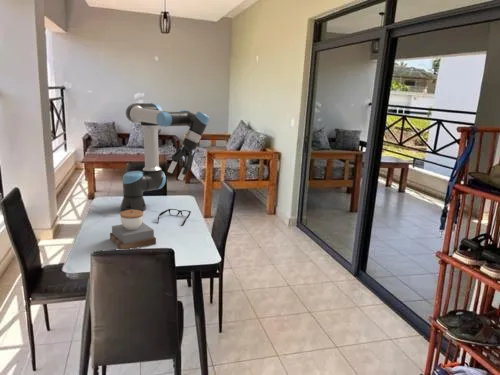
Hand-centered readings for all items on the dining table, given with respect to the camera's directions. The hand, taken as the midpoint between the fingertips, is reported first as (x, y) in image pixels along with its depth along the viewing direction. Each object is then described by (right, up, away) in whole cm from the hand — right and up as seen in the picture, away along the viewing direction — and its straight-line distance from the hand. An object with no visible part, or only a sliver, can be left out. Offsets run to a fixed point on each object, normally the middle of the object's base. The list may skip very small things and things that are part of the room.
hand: (174, 176), depth 209 cm
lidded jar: (-17, -26, -18) cm, 36 cm away
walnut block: (-18, -34, -16) cm, 41 cm away
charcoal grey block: (-17, -30, -17) cm, 38 cm away
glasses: (-3, -26, +19) cm, 32 cm away
